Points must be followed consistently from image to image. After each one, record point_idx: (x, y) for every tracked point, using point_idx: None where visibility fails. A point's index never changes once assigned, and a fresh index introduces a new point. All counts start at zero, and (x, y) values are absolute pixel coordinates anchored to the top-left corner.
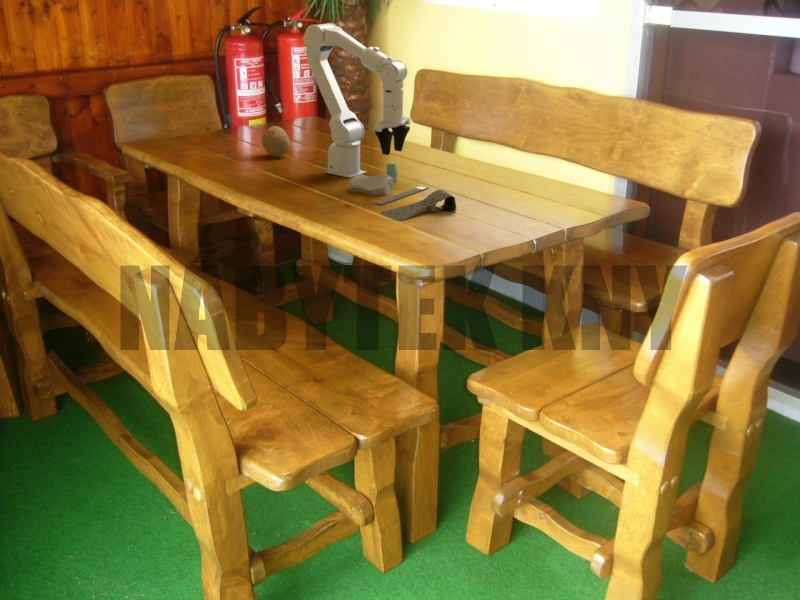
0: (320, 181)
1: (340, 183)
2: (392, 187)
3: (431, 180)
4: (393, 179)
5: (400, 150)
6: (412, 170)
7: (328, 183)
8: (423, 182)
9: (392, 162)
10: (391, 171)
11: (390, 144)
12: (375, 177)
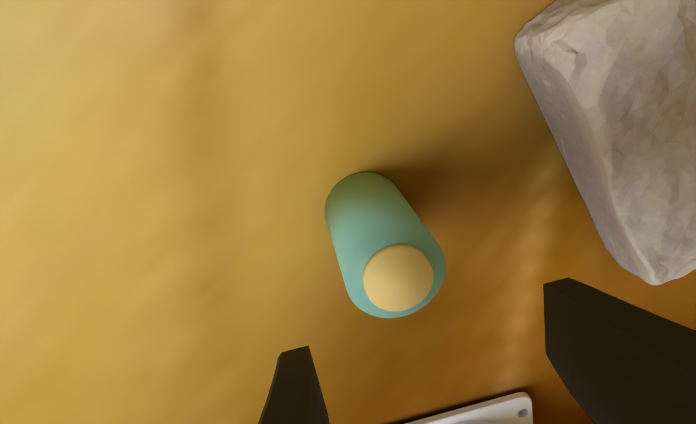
0: None
1: None
2: (551, 7)
3: (52, 12)
4: (383, 181)
5: (309, 352)
6: (16, 357)
7: None
8: (171, 6)
9: (384, 290)
10: (415, 216)
11: (655, 347)
12: (690, 116)
